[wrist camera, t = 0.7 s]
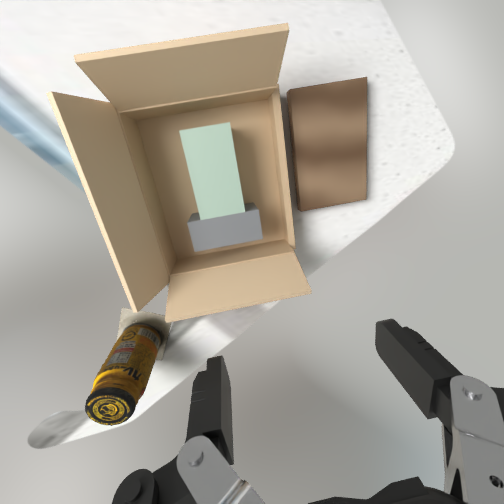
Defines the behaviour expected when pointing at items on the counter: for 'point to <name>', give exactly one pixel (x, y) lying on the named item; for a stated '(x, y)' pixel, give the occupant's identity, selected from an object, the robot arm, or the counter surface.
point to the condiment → (127, 367)
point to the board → (329, 142)
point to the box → (217, 190)
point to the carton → (185, 166)
